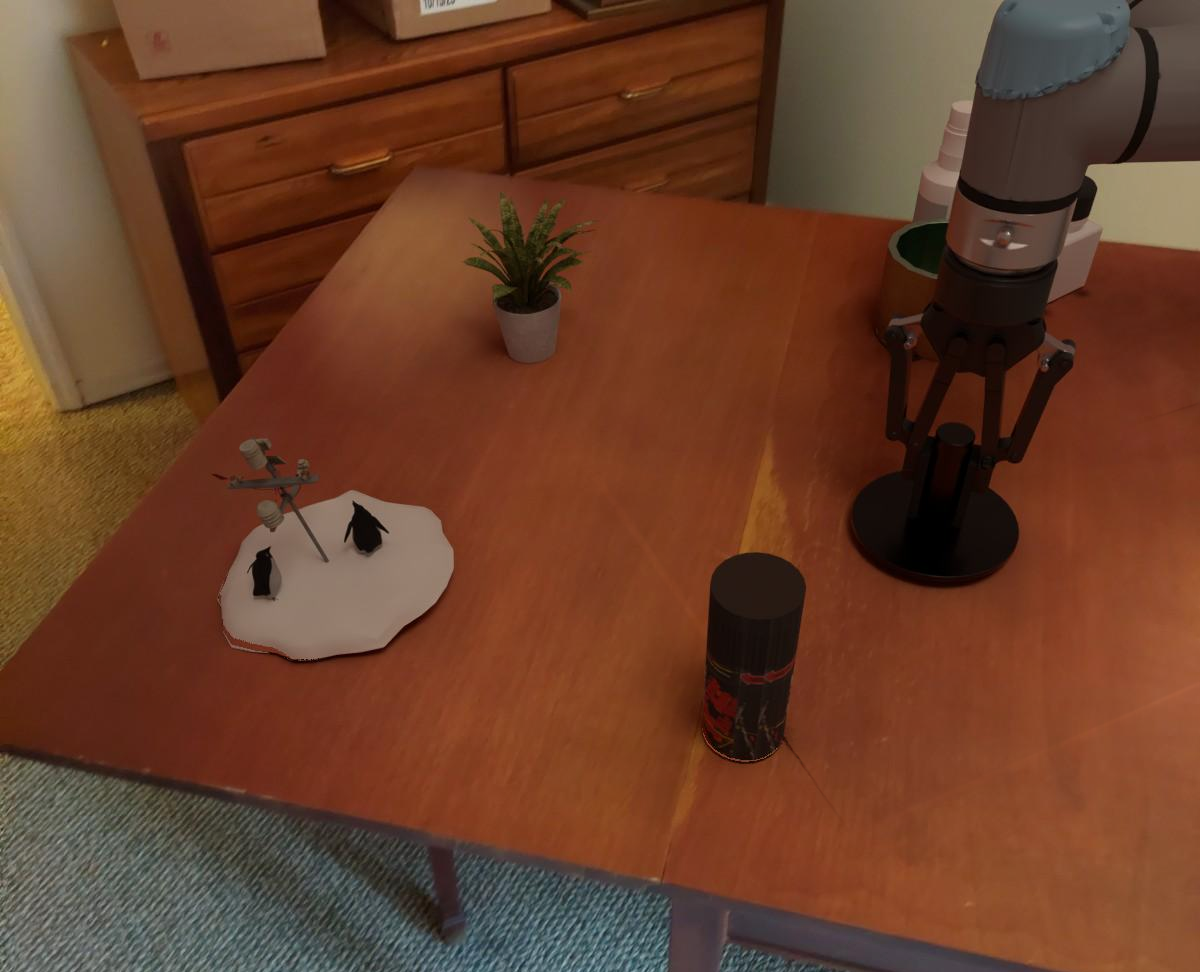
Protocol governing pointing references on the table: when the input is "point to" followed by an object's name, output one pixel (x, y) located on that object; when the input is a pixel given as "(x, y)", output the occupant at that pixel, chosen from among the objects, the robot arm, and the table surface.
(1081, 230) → the medicine bottle
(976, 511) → the tin lid
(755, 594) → the deodorant
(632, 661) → the table surface
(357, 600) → the figurine
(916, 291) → the tin
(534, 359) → the house plant
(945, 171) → the spray bottle
